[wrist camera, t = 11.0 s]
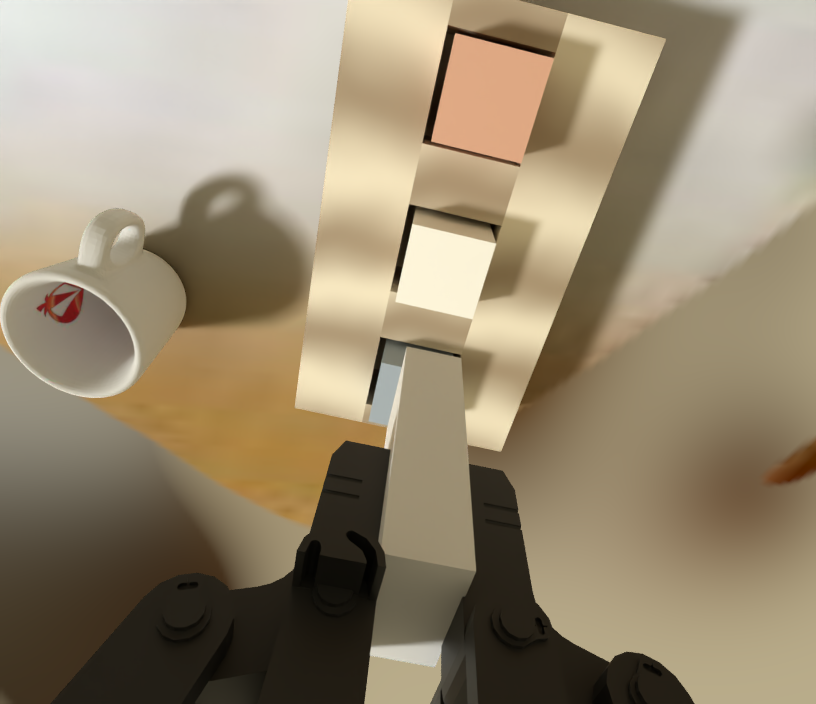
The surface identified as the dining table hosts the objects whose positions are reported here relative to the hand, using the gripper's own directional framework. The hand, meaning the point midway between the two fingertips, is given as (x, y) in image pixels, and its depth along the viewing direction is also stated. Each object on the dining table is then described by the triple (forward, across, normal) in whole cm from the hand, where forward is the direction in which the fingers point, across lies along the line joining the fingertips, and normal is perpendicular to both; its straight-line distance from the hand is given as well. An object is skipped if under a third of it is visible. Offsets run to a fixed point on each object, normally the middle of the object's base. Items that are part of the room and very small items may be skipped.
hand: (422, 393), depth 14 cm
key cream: (+17, +1, -1) cm, 17 cm away
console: (+20, +1, -1) cm, 20 cm away
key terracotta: (+17, +1, +7) cm, 19 cm away
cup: (+20, -18, -8) cm, 28 cm away
